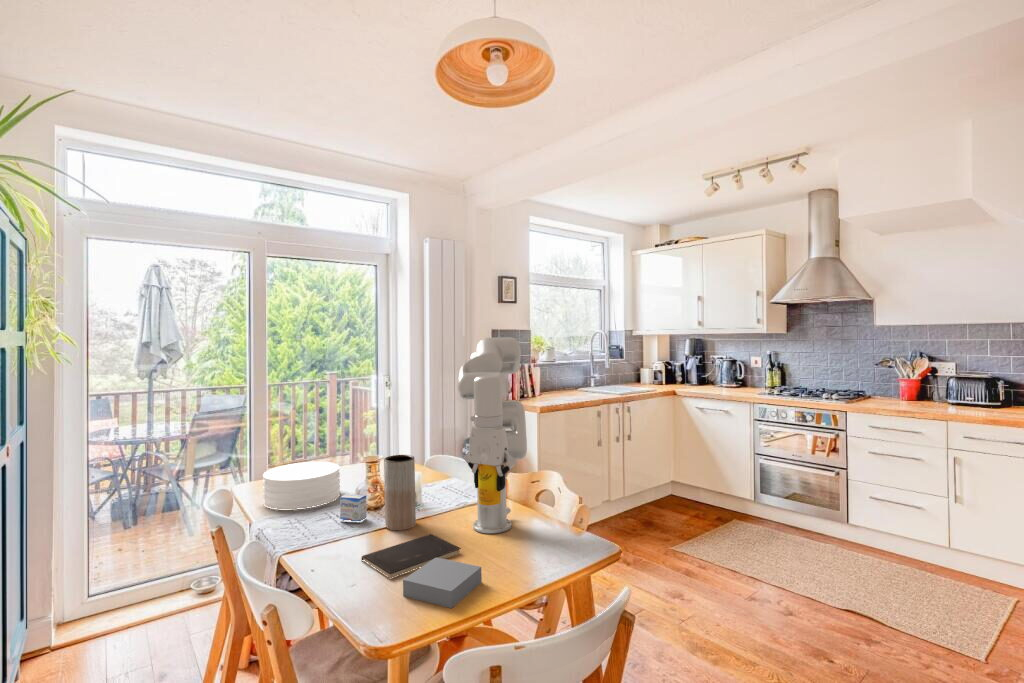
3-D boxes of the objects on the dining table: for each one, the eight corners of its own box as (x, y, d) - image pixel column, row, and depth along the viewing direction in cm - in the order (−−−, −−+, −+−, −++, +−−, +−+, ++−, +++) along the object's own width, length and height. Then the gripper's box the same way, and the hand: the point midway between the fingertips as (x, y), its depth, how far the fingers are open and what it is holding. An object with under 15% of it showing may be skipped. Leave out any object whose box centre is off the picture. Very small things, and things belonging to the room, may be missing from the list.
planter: (393, 533, 168) (392, 463, 168) (380, 525, 176) (378, 457, 176) (421, 525, 175) (419, 458, 174) (406, 518, 182) (405, 453, 182)
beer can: (475, 502, 143) (474, 448, 142) (497, 499, 145) (495, 445, 144) (482, 509, 137) (481, 453, 136) (504, 506, 139) (503, 450, 139)
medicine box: (339, 522, 179) (339, 497, 179) (346, 517, 184) (346, 493, 184) (360, 524, 178) (359, 498, 177) (367, 519, 182) (366, 494, 182)
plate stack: (264, 494, 213) (263, 466, 213) (335, 485, 225) (335, 458, 225) (263, 515, 188) (262, 484, 188) (344, 504, 200) (343, 474, 200)
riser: (436, 572, 140) (435, 557, 140) (481, 582, 134) (481, 566, 134) (403, 595, 128) (402, 579, 127) (451, 608, 121) (451, 591, 121)
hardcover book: (460, 555, 152) (460, 547, 152) (389, 582, 136) (389, 573, 136) (430, 540, 163) (429, 533, 163) (361, 563, 148) (361, 555, 148)
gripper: (453, 421, 141) (455, 488, 141) (510, 426, 133) (512, 496, 133) (468, 417, 147) (469, 480, 148) (523, 421, 140) (524, 488, 140)
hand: (489, 487), depth 141 cm, fingers closed on beer can, 6 cm apart
